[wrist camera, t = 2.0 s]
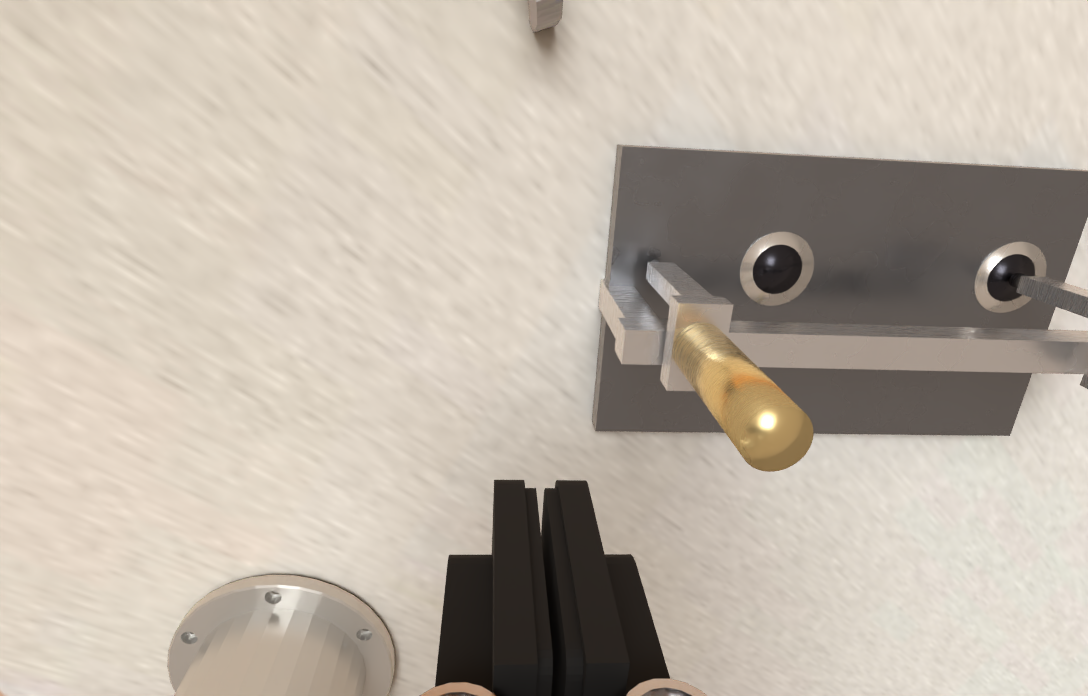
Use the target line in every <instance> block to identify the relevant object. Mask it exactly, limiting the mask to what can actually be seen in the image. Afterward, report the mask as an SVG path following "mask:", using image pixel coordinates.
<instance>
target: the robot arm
mask: <svg viewBox="0 0 1088 696" xmlns="http://www.w3.org/2000/svg"><path fill="white" fill-rule="evenodd" d="M167 667H168V672H169V677H170V681H171V684H172V686H173V688H174V690H175V692H176V693H175V695H174V696H388V694H389V691H390V688H391V685H392V680H393V674H394V668H395V656H394V648H393V644H392V641H391V638H390V635H389V633H388V631H387V629H386V628H385V626H384V624H383V623H382V621H381V620H380V619H379V617H378V616H377V615H376V614H375V613H374V612H373V611H372V610H371V608H370V607H368V606H367V605H366V604H364V603H363V602H362V601H361V600H359V599H358V598H357V597H355V596H354V595H352V594H350V593H348V592H346V591H344V590H342V589H341V588H339V587H337V586H334V585H331V584H328V583H325V582H322V581H319V580H316V579H312V578H306V577H300V576H295V575H264V576H256V577H249V578H245V579H242V580H239V581H235V582H232V583H229V584H226V585H224V586H222V587H220V588H218V589H216V590H214V591H212V592H210V593H209V594H208V595H206V596H205V597H204V598H202V599H201V600H200V601H198V602H197V603H196V604H195V605H194V606H193V607H192V609H191V610H190V611H189V612H188V613H187V614H186V616H185V617H184V619H183V620H182V622H181V623H180V625H179V627H178V628H177V630H176V632H175V634H174V636H173V639H172V642H171V645H170V647H169V650H168V666H167ZM420 696H707V695H706V694H705V693H703V692H702V691H701V690H699V689H697V688H695V687H693V686H691V685H689V684H687V683H685V682H681V681H677V680H673V679H670V677H669V673H668V670H667V667H666V663H665V660H664V656H663V653H662V650H661V646H660V643H659V640H658V636H657V633H656V630H655V626H654V623H653V620H652V616H651V613H650V609H649V606H648V603H647V599H646V596H645V593H644V589H643V586H642V583H641V579H640V576H639V573H638V569H637V566H636V563H635V560H634V558H633V556H632V555H604V551H603V547H602V542H601V538H600V534H599V530H598V525H597V521H596V517H595V513H594V508H593V504H592V500H591V496H590V491H589V487H588V483H587V481H570V480H557V481H556V484H555V488H545V490H544V501H543V516H542V531H541V533H540V523H539V513H538V503H537V493H536V488H525V483H524V480H494V504H493V535H492V555H449V558H448V566H447V576H446V585H445V595H444V605H443V615H442V625H441V634H440V644H439V654H438V664H437V673H436V683H435V687H433V688H432V689H430V690H428V691H427V692H425V693H423V694H422V695H420Z"/></svg>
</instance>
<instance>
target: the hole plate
mask: <svg viewBox="0 0 1088 696" xmlns="http://www.w3.org/2000/svg"><path fill="white" fill-rule="evenodd" d="M1087 217H1088V170H1076V169H1058V168H1039V167H1021V166H1002V165H984V164H965V163H947V162H928V161H910V160H891V159H873V158H854V157H836V156H817V155H799V154H780V153H762V152H744V151H725V150H707V149H688V148H670V147H651V146H633V145H617V153H616V164H615V175H614V186H613V197H612V208H611V219H610V230H609V241H608V252H607V263H606V274H605V280H606V282H607V283H608V285H609V286H623V287H635V288H636V290H637V291H638V292H639V294H640V295H641V296H642V297H643V299H644V300H645V301H646V302H647V304H648V305H649V306H650V307H651V309H652V310H653V311H654V313H655V314H656V315H657V316H658V318H659V319H668V315H669V308H670V306H669V305H668V303H667V302H666V301H665V300H664V299H663V298H662V297H661V296H660V294H659V293H658V292H657V291H656V290H655V289H654V288H653V287H652V286H651V284H650V283H649V282H648V281H647V280H646V273H647V264H648V262H651V261H652V260H654V259H658V260H660V261H661V262H668V263H675V264H676V265H677V266H678V267H680V268H681V269H682V270H683V271H684V272H685V273H687V274H688V275H689V276H690V277H691V278H692V279H693V280H695V281H696V282H697V283H698V284H699V285H700V286H702V287H703V288H704V289H705V290H706V291H707V292H709V293H710V294H711V295H712V296H713V297H725V298H726V299H727V300H728V301H729V302H731V303H732V304H733V310H732V316H731V321H757V322H792V323H828V324H863V325H899V326H934V327H969V328H1005V329H1040V330H1048V327H1049V324H1050V321H1051V318H1052V316H1053V313H1054V310H1055V307H1056V306H1053V305H1050V304H1047V303H1045V302H1042V301H1039V300H1036V299H1033V298H1031V297H1028V296H1025V295H1022V294H1019V293H1017V292H1016V291H1017V288H1015V287H1012V286H1010V284H1009V279H1010V277H1011V276H1012V275H1013V274H1015V273H1021V274H1024V275H1027V276H1036V277H1047V278H1050V279H1053V280H1057V281H1060V282H1063V283H1064V282H1065V279H1066V276H1067V274H1068V271H1069V268H1070V265H1071V262H1072V259H1073V257H1074V254H1075V251H1076V248H1077V245H1078V243H1079V240H1080V237H1081V234H1082V231H1083V229H1084V226H1085V223H1086V220H1087ZM615 341H616V339H615V337H614V335H613V333H612V331H611V329H610V327H609V326H608V324H607V322H606V320H605V318H604V316H603V314H602V317H601V328H600V339H599V350H598V361H597V372H596V383H595V394H594V404H593V415H592V422H593V425H594V428H595V431H642V432H725V431H724V430H723V429H722V427H721V426H720V424H719V423H718V422H717V420H716V419H715V418H714V416H713V415H712V413H711V412H710V411H709V409H708V408H707V406H706V405H705V404H704V402H703V401H702V399H701V398H700V397H699V395H698V394H697V392H696V391H667V390H666V389H665V387H664V385H663V384H662V382H661V381H660V376H661V369H662V365H637V364H621V362H620V360H619V358H618V356H617V354H616V352H615ZM759 368H760V369H761V370H762V371H763V372H764V373H765V374H766V375H767V376H768V377H769V378H770V379H771V380H772V381H773V382H774V383H775V384H776V385H777V386H778V387H779V388H780V389H781V390H782V391H783V392H784V393H785V394H786V395H787V396H788V397H789V398H790V399H791V400H792V401H793V402H794V403H795V404H796V405H797V406H798V407H799V408H801V409H802V410H803V411H804V412H805V413H806V414H807V415H808V417H809V418H810V420H811V422H812V425H813V433H819V434H908V435H997V436H1010V434H1011V431H1012V428H1013V425H1014V423H1015V420H1016V417H1017V414H1018V411H1019V408H1020V406H1021V403H1022V400H1023V397H1024V394H1025V392H1026V389H1027V386H1028V383H1029V380H1030V378H1031V375H1032V373H1013V372H966V371H919V370H872V369H825V368H778V367H759Z"/></svg>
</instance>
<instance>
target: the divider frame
mask: <svg viewBox="0 0 1088 696" xmlns="http://www.w3.org/2000/svg"><path fill="white" fill-rule="evenodd" d="M1009 284H1010V286H1012V287H1015V288H1017V291H1016V292H1017V293H1019V294H1022V295H1025V296H1028V297H1031V298H1033V299H1036V300H1039V301H1042V302H1045V303H1047V304H1050V305H1053V306H1056V307H1059V308H1061V309H1064V310H1067V311H1070V312H1073V313H1075V314H1078V315H1081V316H1084V317H1087V318H1088V290H1086V289H1082V288H1079V287H1076V286H1073V285H1070V284H1066V283H1063V282H1060V281H1057V280H1053V279H1050V278H1047V277H1036V276H1027V275H1024V274H1021V273H1015V274H1013V275H1012V276H1011V277H1010V279H1009ZM598 307H599V309H600V311H601V312H602V314H603V316H604V318H605V320H606V322H607V324H608V326H609V327H610V329H611V331H612V333H613V335H614V337H615V339H616V341H615V352H616V354H617V356H618V358H619V360H620V362H621V364H637V365H662V361H663V353H664V346H665V338H666V331H667V323H668V319H659V318H658V316H657V315H656V314H655V313H654V311H653V310H652V309H651V307H650V306H649V305H648V304H647V302H646V301H645V300H644V299H643V297H642V296H641V295H640V294H639V292H638V291H637V290H636V288H635V287H623V286H609V285H608V283H607V282H606V280H604V279H601V284H600V295H599V306H598ZM728 338H729V339H730V340H731V341H732V342H733V343H734V344H735V345H736V346H737V347H738V348H739V349H740V350H741V351H742V352H743V353H744V354H745V355H746V356H747V357H748V358H749V359H750V360H751V361H753V362H754V363H755V364H756V365H757V366H758V367H778V368H825V369H872V370H919V371H966V372H1013V373H1060V374H1084V375H1083V378H1082V381H1081V383H1080V385H1081V386H1083V387H1085V388H1087V389H1088V331H1076V330H1040V329H1005V328H969V327H934V326H899V325H863V324H828V323H792V322H757V321H731V322H730V328H729V334H728Z"/></svg>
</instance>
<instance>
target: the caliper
mask: <svg viewBox="0 0 1088 696" xmlns="http://www.w3.org/2000/svg"><path fill="white" fill-rule="evenodd" d="M528 4H529V22H530V25H531V28H532V31H533V33H534V32H537V31H540V30H543V29H546V28H549V27H552V26H555V25H557V24H558V22H559V21H560V19H561V18H562V6H563V0H528Z"/></svg>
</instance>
